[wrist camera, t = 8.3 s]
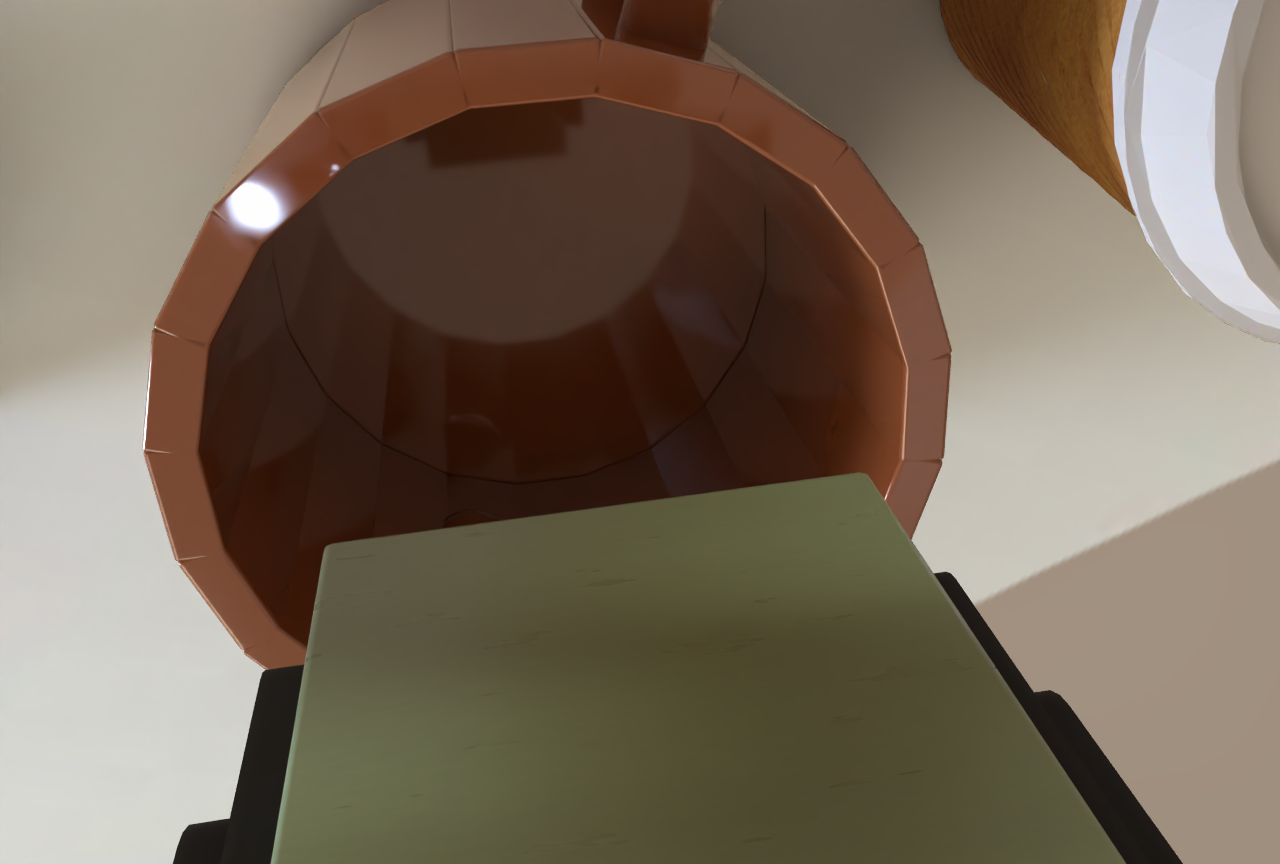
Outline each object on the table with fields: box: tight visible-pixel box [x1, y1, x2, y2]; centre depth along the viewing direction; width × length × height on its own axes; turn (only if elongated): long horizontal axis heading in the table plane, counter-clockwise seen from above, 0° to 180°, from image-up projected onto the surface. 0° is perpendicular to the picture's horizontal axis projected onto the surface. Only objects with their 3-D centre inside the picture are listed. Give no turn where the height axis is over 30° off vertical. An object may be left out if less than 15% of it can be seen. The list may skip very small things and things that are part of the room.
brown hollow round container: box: [143, 0, 952, 670], centre depth 22 cm, size 13×13×10 cm
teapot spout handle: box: [443, 0, 721, 528], centre depth 22 cm, size 21×2×6 cm, turn 164°
